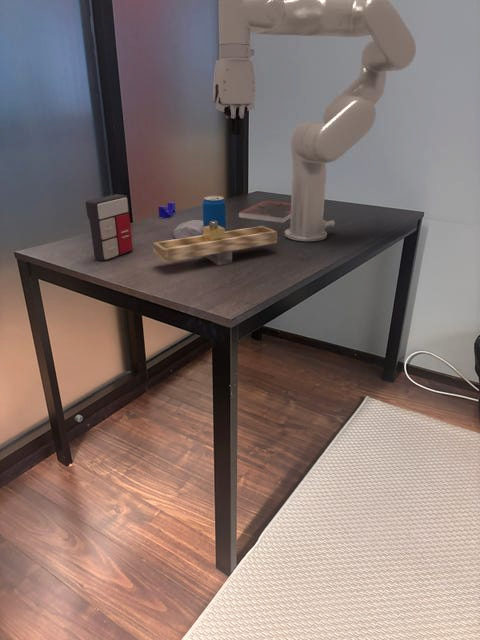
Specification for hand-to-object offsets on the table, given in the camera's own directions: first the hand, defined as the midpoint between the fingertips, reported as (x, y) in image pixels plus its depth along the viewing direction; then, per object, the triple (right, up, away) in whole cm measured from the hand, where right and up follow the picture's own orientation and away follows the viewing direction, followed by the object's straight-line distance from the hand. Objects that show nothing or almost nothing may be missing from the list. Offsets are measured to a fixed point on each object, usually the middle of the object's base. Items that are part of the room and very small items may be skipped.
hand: (235, 134), depth 124 cm
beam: (-4, -32, 0) cm, 33 cm away
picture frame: (+13, -11, +47) cm, 50 cm away
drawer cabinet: (-32, -31, +3) cm, 45 cm away
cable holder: (-23, -12, +43) cm, 50 cm away
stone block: (-13, -23, +21) cm, 34 cm away
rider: (-5, -28, -3) cm, 29 cm away
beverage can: (-6, -24, +17) cm, 30 cm away
